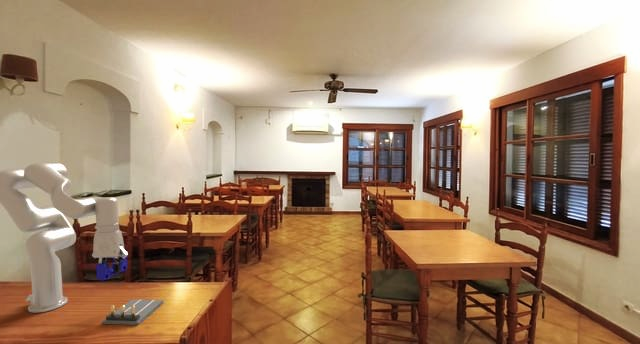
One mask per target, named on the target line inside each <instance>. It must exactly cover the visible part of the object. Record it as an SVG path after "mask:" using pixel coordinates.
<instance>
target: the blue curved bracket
mask: <svg viewBox="0 0 640 344" xmlns="http://www.w3.org/2000/svg"><path fill="white" fill-rule="evenodd" d="M120 255H121V256H122V254H120ZM127 258H128V255H127V256H126V257H125V258H124V259H123V260H122V262H121V271H120V272H118V273H117V274H114V267H113V265H114V264H115V262H113V263H112V264H111V266H110V267H108V268H107V265H106V264H100V263H99V262H98V263H97V264H96V265H95V266H96V276H97V277H96V280H98V281H106V280H108V279H109V278H112V277H113V276H116V275H119V274H120V273H121V272H124V271H127V270H128V259H127ZM117 259H118V258H117Z"/></svg>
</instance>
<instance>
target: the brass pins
mask: <svg viewBox="0 0 640 344" xmlns="http://www.w3.org/2000/svg"><path fill="white" fill-rule="evenodd" d="M124 305H125V304H122V305H120V308H121V315H119V314H115V311H116V310H115V304H110V305H109V306H110V314H108V315H107V316H105V318H106V320H121V321H137V320H138V319H140V315H135V306H134V305H133V306H131V315H125V309H124Z"/></svg>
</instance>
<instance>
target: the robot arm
mask: <svg viewBox="0 0 640 344" xmlns="http://www.w3.org/2000/svg"><path fill="white" fill-rule="evenodd" d="M67 176H68V169H67V167H66V166H64V165H63V164H62V163H59V162H54V161H53V162H52V161H51V162H35V163H31V164H29V165H27V166H26V167H24V168H8V169H2V170H0V204H1V206H2V207H3V208H4V209H5V211H6V213H8V216H10V218H11V220H12V221H13V222H14V224H15V225H16V227H17V228H18V229H19V230H20V231H21V232H22V233H25V234H26V233H27V234H29V233H34V234H32V235H30V236H29V237H28V238H27V239H26V242H25V249H26V250H25V251H26V253H27V257H28V258H29V265H30V266H29V267H30V276H31V278H30V279H31V293H32V294H29V295H28V296H27V297H26V299H25V302H30V305H29V306H28V308H27V310H28V312H30V313H33V314H34V313H35V314H37V313H44V312H50V311H53V310H55V309H58V308H60V307H62V306H64V305H66V304H67V303H68V297H67V296H64V295H63V279H62V278H63V277H62V264H61V259H60V257H59V256H57V254H56V252H57V251H60V250H64V249H66V248H69V247H71V246H72V245H74V244H75V243H76V240H77V233H76V231H75V229H74V228H73V227H72V225H71V223H70V222H69V221H68V219H67V218H70V219H72V220H73V219H74V220H79V219H83V218H87V217H91V216H95V222H96V223H95V224H96V225H94V229H95V230H96V232H94V237H93V245H92V247H93V252H92V254H91V256H92V258H94V259H95V260H96V262H98V264H99V263H100V264H106V265H107V268H108V269H109V262H108V261H107V258H108V259H109V258H112V259H113V263H115V264H114V265H113V267H114V274H116V275H118V274H119V273H118V272H120V271H121V262H122V260H123V259H124V258H125V257H126V256H127V257H128V255H129V253H128V251H126V250H125V244H124V237H123V233H122V231H121V230H120V222H119V221H120V220H119V208H118V206H119V205H118V204H119V203H118V199H117V198H116V197H113V196H108V197H102V196H98V195H97V196H94V195H93V196H89V197H82V198H73V197H71V196H70V195H68V193H69V191H70V190H71V188H72V187H73V186H72V185H73V184H72V181H71V180H70V179H69V178H67ZM30 188H31V189H32V188H39V189H40V190H41V191H44V192H45V193H46V194H48V195H49V196H50V202H51V204H52V205H51V206H50V205H49V206H43V207H42V206H41V207H38V206H36V205H35V203H34V202H33V200H32V198H30V197H29V196H28V195H27V194H25V193H23V192H22V191H20V190H21V189H22V190H23V189H30ZM66 217H67V218H66ZM38 231H39V232H38ZM35 232H36V233H35ZM121 255H122V256H121ZM117 258H118V259H117ZM117 273H118V274H117ZM120 273H121V272H120Z"/></svg>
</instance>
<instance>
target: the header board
mask: <svg viewBox="0 0 640 344" xmlns="http://www.w3.org/2000/svg"><path fill="white" fill-rule="evenodd" d="M163 304H164V300H161V299H159V300H157V299H130V300H129V301H128V302H126V303H125V304H123V305H124V309H125V315H131V306H133V305H134V306H135V315H140V319H138V320H137V321H121V320H106V317H105V318H104V319H103V320H102V324H103V325H104V324H105V325H106V324H107V325H128V326H129V325H133V326H140V324H141V323H142V322H144V321H145V320H146V319H147V318H148V317H149V316H151V314H153V313H154V312H155V311H156V310H157V309H159V307H161V306H162V305H163ZM114 311H115V314H119V315H121V307H119V308H117V309H116V310H114Z"/></svg>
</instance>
